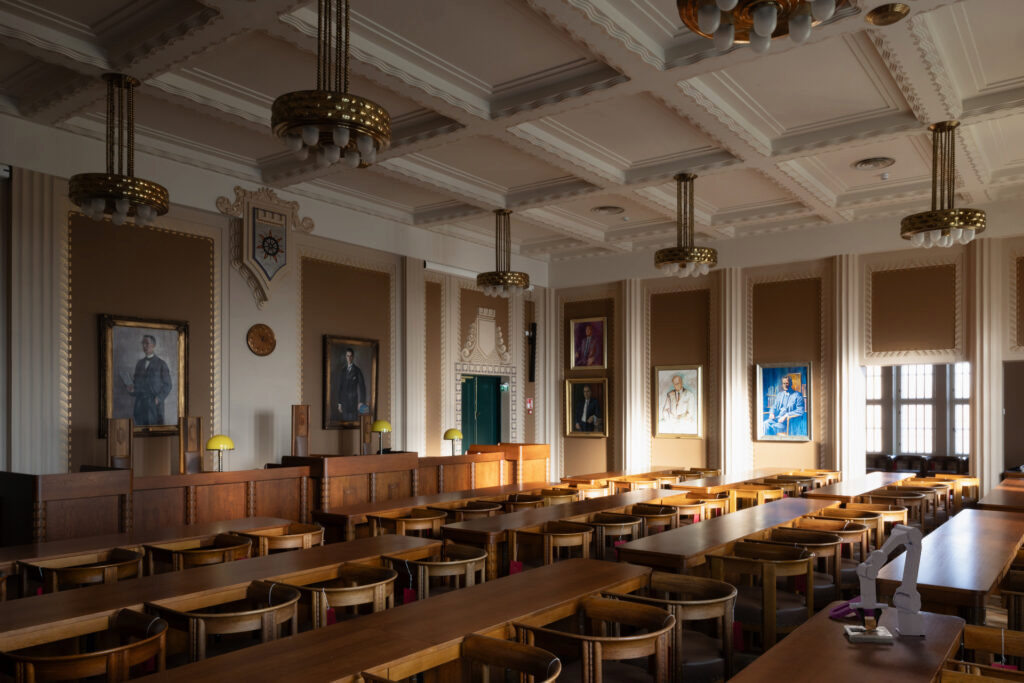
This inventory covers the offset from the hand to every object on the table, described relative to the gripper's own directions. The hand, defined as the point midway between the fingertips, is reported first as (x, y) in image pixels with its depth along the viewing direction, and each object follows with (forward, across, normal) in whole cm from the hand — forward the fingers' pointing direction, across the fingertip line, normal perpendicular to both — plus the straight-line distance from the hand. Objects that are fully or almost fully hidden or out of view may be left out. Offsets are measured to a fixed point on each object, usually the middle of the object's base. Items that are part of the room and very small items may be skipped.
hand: (869, 626), depth 321 cm
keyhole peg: (+4, 0, 0) cm, 4 cm away
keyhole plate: (+5, +1, 0) cm, 5 cm away
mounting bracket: (+5, +1, -28) cm, 28 cm away
